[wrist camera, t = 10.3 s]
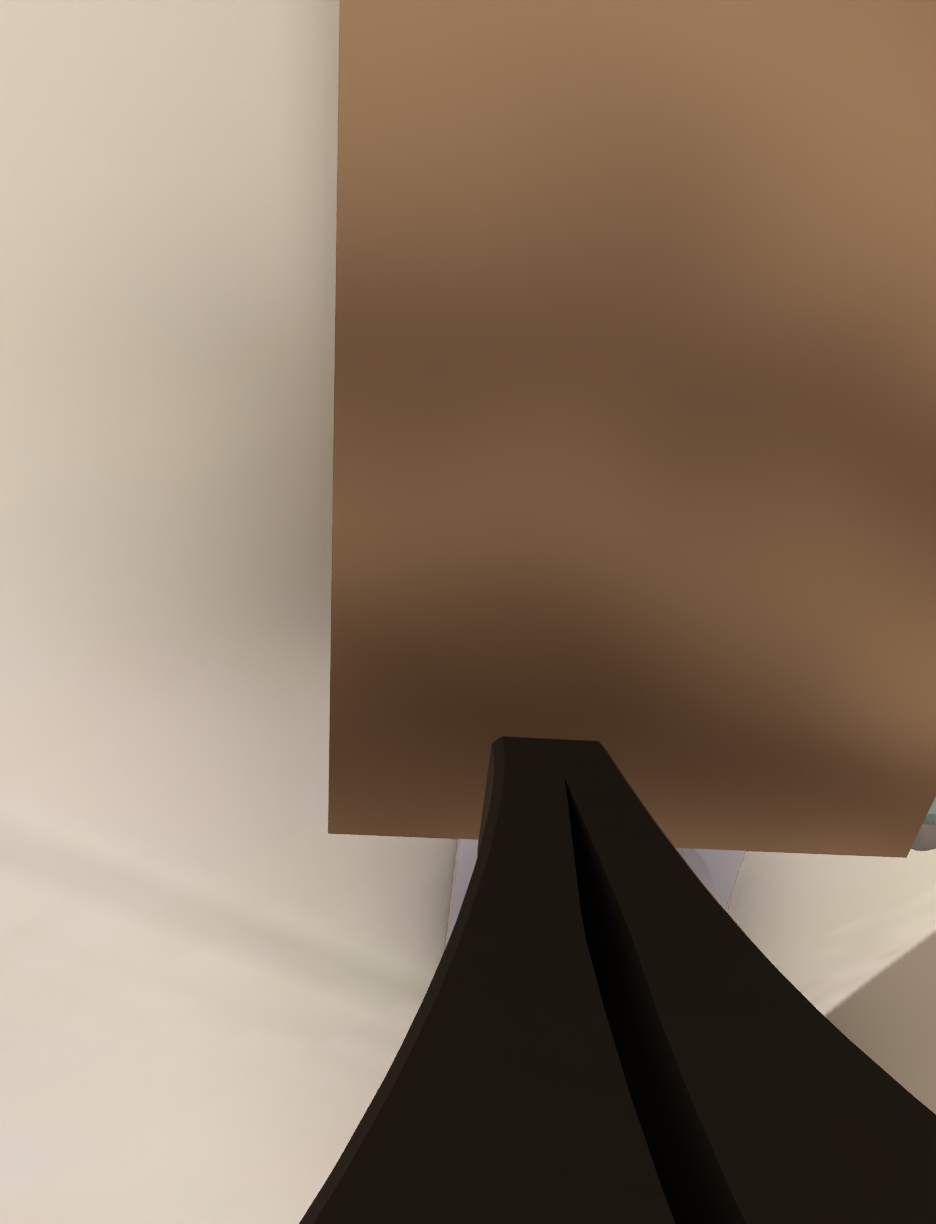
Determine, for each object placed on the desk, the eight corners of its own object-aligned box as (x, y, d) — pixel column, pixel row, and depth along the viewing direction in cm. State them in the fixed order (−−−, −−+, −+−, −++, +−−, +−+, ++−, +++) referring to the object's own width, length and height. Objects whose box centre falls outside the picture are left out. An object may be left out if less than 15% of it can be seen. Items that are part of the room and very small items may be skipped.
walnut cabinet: (793, 678, 22) (906, 857, 17) (354, 653, 21) (328, 833, 16) (1077, -151, 14) (1468, -306, 9) (381, -247, 13) (346, -481, 8)
